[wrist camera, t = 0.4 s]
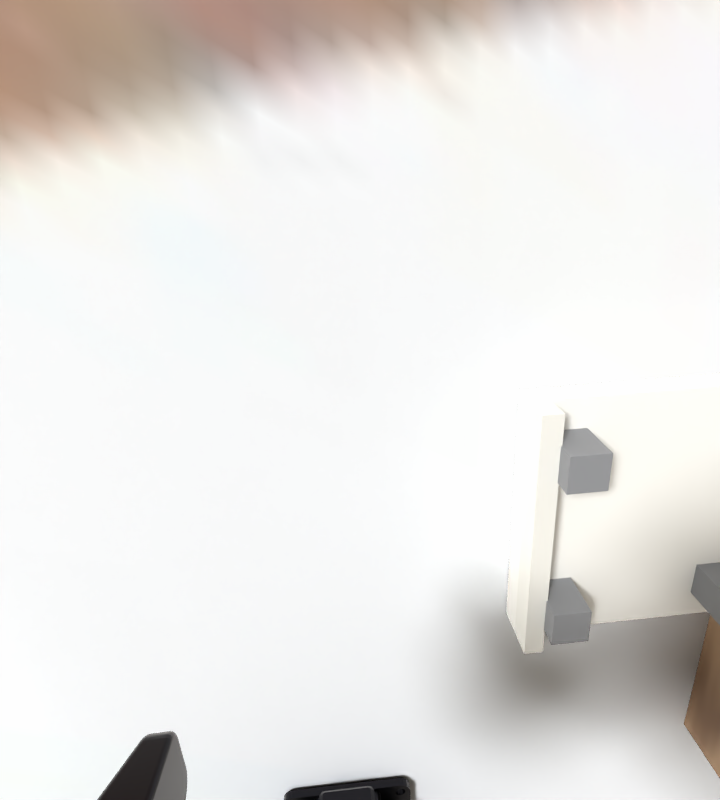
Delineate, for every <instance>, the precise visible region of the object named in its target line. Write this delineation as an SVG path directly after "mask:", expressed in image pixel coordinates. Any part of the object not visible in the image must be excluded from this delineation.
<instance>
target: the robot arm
mask: <svg viewBox="0 0 720 800" xmlns="http://www.w3.org/2000/svg"><path fill="white" fill-rule="evenodd" d="M186 792H187V770H186V766H185V762H184V759H183V755H182V751H181V748H180V744H179V741H178V737H177V735H176V734H175V733H174V732H171V731H169V732H161V733H153V734H149V735H147V736H145V737H144V738H143V739H142V740H141V741H140V742H139V744H138V745H137V747H136V748H135V749H134V751H133V752H132V753H131V755H130V756H129V757H128V759H127V760H126V762H125V763H124V764H123V766H122V767H121V768H120V770H119V771H118V772H117V774H116V775H115V777H114V778H113V779H112V781H111V782H110V783H109V785H108V786H107V787H106V789H105V790H104V791H103V793H102V794H101V796H100V797H99V798H98V800H186ZM284 800H410V787H409V782H408V780H407V779H404V778H394V779H386V780H377V781H369V782H360V783H352V784H343V785H335V786H326V787H318V788H309V789H301V790H293V791H289V792H287V793H286V794H285V796H284Z"/></svg>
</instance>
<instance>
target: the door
mask: <svg viewBox="0 0 720 800" xmlns="http://www.w3.org/2000/svg"><path fill="white" fill-rule="evenodd" d="M684 725H685V726H686V728H687V729H688V731H689V732H690V734H691V735H692V737H693V739H694V740H695V742H696V743H697V745H698V746H699V748H700V749H701V751H702V752H703V754H704V755H705V757H706V758H707V760H708V761H709V763H710V764H711V766H712V767H713V769H714V770H715V772H716V773H717V775H718V776H719V778H720V625H719V624H718V623H717V622H716V621H715V620H714V619H713V617H712V616H711V615H710V617H709V622H708V626H707V630H706V634H705V638H704V642H703V647H702V651H701V655H700V659H699V663H698V667H697V672H696V676H695V680H694V684H693V688H692V692H691V697H690V701H689V705H688V709H687V713H686V717H685V722H684Z"/></svg>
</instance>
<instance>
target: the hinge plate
mask: <svg viewBox="0 0 720 800" xmlns="http://www.w3.org/2000/svg"><path fill="white" fill-rule="evenodd" d="M703 612H708V613H709V614H710V615H711V616H712V617H713V619H714V620H715V621H716V622H717V623H718V624H719V625H720V373H715V374H703V375H691V376H679V377H667V378H655V379H643V380H631V381H619V382H607V383H595V384H583V385H570V386H558V387H546V388H534V389H522V390H519V401H518V418H517V435H516V452H515V470H514V487H513V504H512V521H511V538H510V555H509V572H508V589H507V606H506V613H507V616H508V618H509V620H510V623H511V625H512V627H513V630H514V632H515V634H516V636H517V639H518V641H519V643H520V646H521V648H522V650H523V653H524V654H531V653H540V652H543V645H544V635H545V633H546V635H547V637H548V639H549V641H550V643H551V645H555V644H564V643H573V642H583V641H588V638H589V630H590V624H599V623H608V622H618V621H627V620H637V619H646V618H656V617H665V616H675V615H684V614H694V613H703Z"/></svg>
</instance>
